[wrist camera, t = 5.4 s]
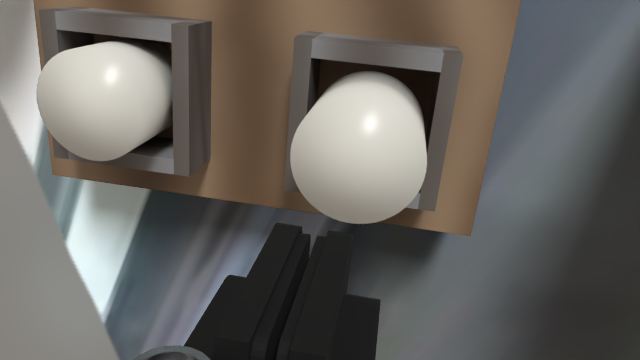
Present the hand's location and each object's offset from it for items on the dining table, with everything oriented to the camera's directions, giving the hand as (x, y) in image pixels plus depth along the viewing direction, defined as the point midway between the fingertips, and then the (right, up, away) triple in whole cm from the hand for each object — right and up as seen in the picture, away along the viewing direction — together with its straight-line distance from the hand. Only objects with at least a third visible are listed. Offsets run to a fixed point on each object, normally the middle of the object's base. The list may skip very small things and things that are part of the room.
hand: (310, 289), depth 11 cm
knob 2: (+2, +5, +12) cm, 14 cm away
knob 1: (-9, +7, +16) cm, 20 cm away
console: (-2, +9, +21) cm, 23 cm away
